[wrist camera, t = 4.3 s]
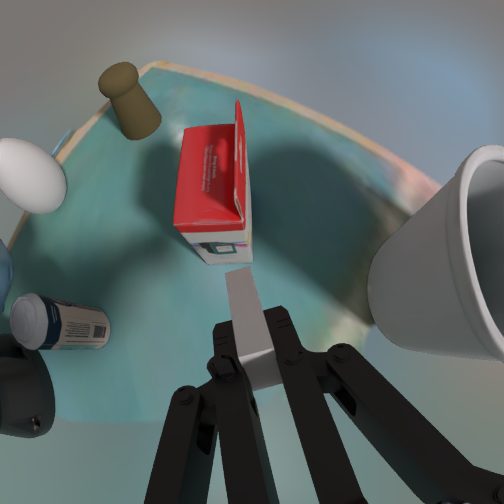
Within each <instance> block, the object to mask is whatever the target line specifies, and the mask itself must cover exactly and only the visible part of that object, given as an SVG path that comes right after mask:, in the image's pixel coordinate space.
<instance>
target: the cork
mask: <svg viewBox="0 0 504 504" xmlns="http://www.w3.org/2000/svg"><path fill="white" fill-rule="evenodd" d="M138 78H139V75H138V71H137V69H136V67H135V66H134V65H133V64H131V63H129V62H121V63H117V64H115V65H113V66H111V67H109V68H108V69H107V70H106V71H105V72H103V74H102V75H101V76H100V78H99V82H98V86H99V90H100V92H101V93H102V94H103V95H104V96H105V97H107V98H110V101H111V103H112V106H113V108H114V111H115V113H116V116H117V118H118V121H119V123H120V126H121V128H122V131H123V133H124V135H125V137H126V138H127V139H130V140H140V139H143V138H145V137H147V136H149V135H151V134H152V133H153V132H154V131H156V129H157V128H158V127H159V125H160V123H161V114H160V113H159V111H158V110H157V108H156V107H155V105H154V104H153V103H152V101H151V100H150V98H149V97H148V95H147V94H146V93H145V91H144V90H143V88H142V87H141V85H140V84H139V83H138Z"/></svg>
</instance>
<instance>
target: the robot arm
mask: <svg viewBox="0 0 504 504" xmlns="http://www.w3.org/2000/svg"><path fill="white" fill-rule="evenodd" d="M13 277H14V266H13V262H12V259H11V256H10V254H9V252H8V250H7V248H6V246H5V245H4V243H3V242H2V240H1V239H0V314H1V313H3V311H4V304H5V303H4V302H5V300H6V297H7V294H8V292H9V289H10V286H11V284H12V281H13ZM225 277H226V284H227V290H228V297H229V304H230V310H231V317H232V320H230V321H226V322H222V323H218V324H216V325H215V327H214V329H213V345H214V356H213V357H212V358H211V359H210V360H209V362H208V363H207V369H208V371H209V373H210V375H211V376H212V379H211V380H210V381H208V382H207V383H205V384H203V385H202V386H200V387H198V388H195V387H194V386H189V385H187V386H183V387H180V388H178V389H177V390H176V391H175V392H174V394H173V396H172V399H171V402H170V406H169V409H168V413H167V416H166V420H165V423H164V427H163V431H162V434H161V438H160V442H159V445H158V449H157V453H156V457H155V461H154V464H153V468H152V472H151V476H150V480H149V484H148V488H147V493H146V496H145V501H144V504H206V503H207V497H208V491H209V484H210V478H211V472H212V466H213V459H214V453H215V447H216V440H217V434H218V432H219V440H220V448H221V456H222V464H223V470H224V478H225V485H226V491H227V498H228V504H279V499H278V495H277V491H276V487H275V483H274V479H273V474H272V470H271V466H270V462H269V457H268V453H267V449H266V445H265V440H264V436H263V432H262V428H261V422H260V418H259V413H258V409H257V404H256V400H255V398H254V396H253V391H255V390H259V389H263V388H267V387H271V386H274V385H278V384H281V383H283V385H284V388H285V391H286V395H287V398H288V402H289V405H290V408H291V412H292V415H293V418H294V422H295V425H296V428H297V432H298V435H299V438H300V442H301V445H302V448H303V451H304V455H305V458H306V461H307V465H308V468H309V471H310V474H311V478H312V481H313V484H314V487H315V491H316V494H317V497H318V500H319V504H368V502H367V501H366V499H365V498H364V496H363V494H362V492H361V489H360V487H359V484H358V481H357V479H356V476H355V474H354V471H353V468H352V466H351V464H350V461H349V458H348V456H347V453H346V450H345V448H344V446H343V443H342V440H341V438H340V435H339V433H338V430H337V427H336V425H335V422H334V420H333V417H332V415H331V412H330V410H329V407H328V405H327V402H326V400H325V397H324V395H323V393H330V395H331V396H332V397H333V398H334V399H335V401H336V402H337V403H338V404H339V406H340V407H341V408H342V409H343V410H344V412H345V413H346V414H347V415H348V417H349V418H350V419H351V420H352V421H353V422H354V424H355V425H356V426H357V427H358V429H359V430H360V431H361V432H362V433H363V435H364V436H365V437H366V438H367V439H368V441H369V442H370V443H371V444H372V445H373V446H374V448H375V449H376V450H377V451H378V452H379V453H380V455H381V456H382V457H383V458H384V459H385V461H386V462H387V463H388V464H389V465H390V466H391V467H392V469H393V470H394V471H395V472H396V473H397V474H398V476H399V477H400V478H401V479H402V480H403V481H404V482H405V483H406V485H407V486H408V487H409V488H410V489H411V490H412V491H413V493H414V494H415V495H416V496H417V497H418V498H419V499H420V500H421V501H422V502H423V503H425V504H504V475H501V474H497V473H494V472H490V471H488V470H484V469H482V468H479V467H476V466H473V465H472V464H471V463H470V462H469V461H468V460H467V459H466V458H465V457H464V456H463V455H462V454H461V453H460V452H459V451H458V450H457V449H456V448H455V447H454V446H453V445H452V444H451V443H450V442H449V441H448V440H447V439H446V438H445V437H444V436H443V435H442V434H441V433H440V432H439V431H438V430H437V429H436V428H435V427H434V426H433V425H432V424H431V423H430V422H429V421H428V420H427V419H426V418H425V417H424V416H423V415H422V414H421V413H420V412H419V411H418V410H417V409H416V408H415V407H414V406H413V405H412V404H411V403H410V402H409V401H407V399H405V397H404V396H403V395H402V394H400V392H399V391H398V390H397V389H396V388H394V387H393V386H392V385H391V384H390V383H389V382H388V381H387V380H386V379H385V378H384V377H383V376H382V375H381V374H380V373H379V372H378V371H377V370H376V369H375V368H374V367H373V366H372V365H371V364H370V363H369V362H368V361H367V360H366V359H365V358H364V357H363V356H362V355H361V354H360V353H359V352H358V351H357V350H356V349H355V348H354V347H352V346H351V345H349V344H345V343H340V344H336V345H333V346H332V347H331V348H329V349H328V351H327V352H310V351H308V350H306V349H305V348H304V347H303V346H302V344H301V342H300V340H299V337H298V335H297V332H296V330H295V328H294V325H293V323H292V320H291V318H290V315H289V313H288V310H286V309H285V308H284V307H283V306H277V307H274V308H270V309H267V310H264V311H263V310H262V307H261V303H260V300H259V297H258V293H257V290H256V287H255V283H254V280H253V276H252V273H251V270H250V266H249V267H245V268H242V269H238V270H235V271H231V272H228V273H225ZM252 390H253V391H252ZM54 417H55V397H54V391H53V387H52V383H51V379H50V376H49V373H48V371H47V368H46V366H45V364H44V361H43V360H42V358H41V356H40V354H39V353H38V351H37V350H30V349H27V348H25V347H24V346H23V345H22V344H20V343H18V341H17V340H16V338H15V337H14V335H13V334H0V434H5V435H10V436H16V437H22V438H23V437H24V438H35V437H38V436H41V435H44V434H45V433H47V432H48V431H49V430H50V428H51V427H52V424H53V422H54Z"/></svg>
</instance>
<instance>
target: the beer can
mask: <svg viewBox="0 0 504 504" xmlns="http://www.w3.org/2000/svg"><path fill="white" fill-rule="evenodd" d="M10 325H11V331H12V334H13V335H14V337H15V338H16V340H17V341H18V343H20V344H22V345H23V346H24V347H25V348H27V349H30V350H36V349H40V350H72V349H100V348H102V347H103V346H104V345H105V344H106V343H107V341H108V340H109V337H110V323H109V320H108V318H107V316H106V314H105V313H104V312H103V311H102V310H100V309H98V308H94V307H89V306H84V305H79V304H75V303H70V302H66V301H61V300H57V299H53V298H49V297H45V296H41V295H37V294H34V293H27V294H25V295H23V296H21V297H18V298H17V300H16V301H15V302H14V303H13V305H12V308H11V313H10Z"/></svg>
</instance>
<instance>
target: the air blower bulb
mask: <svg viewBox="0 0 504 504" xmlns="http://www.w3.org/2000/svg"><path fill="white" fill-rule="evenodd" d="M0 189H1V191H2V192H3V194H4V195H5V196H6V197H7V198H8V199H9V200H10V201H11V202H13V203H14V204H15V205H17V206H18V207H19V208H21V209H23V210H25V211H28V212H31V213H35V214H47V213H51V212H53V211H55V210H56V209H57V208H58V207H59V206H60V205H61V204H62V202H63V200H64V198H65V194H66V190H67V184H66V180H65V176H64V173H63V171H62V169H61V168H60V166H59V164H58V163H57V162H56V161H55V159H54V158H53V157H52V156H50V155H49V154H48V153H47V152H46V151H44V150H43V149H41V148H40V147H38V146H36V145H34V144H32V143H29V142H27V141H23V140H19V139H15V138H3V139H0Z"/></svg>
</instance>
